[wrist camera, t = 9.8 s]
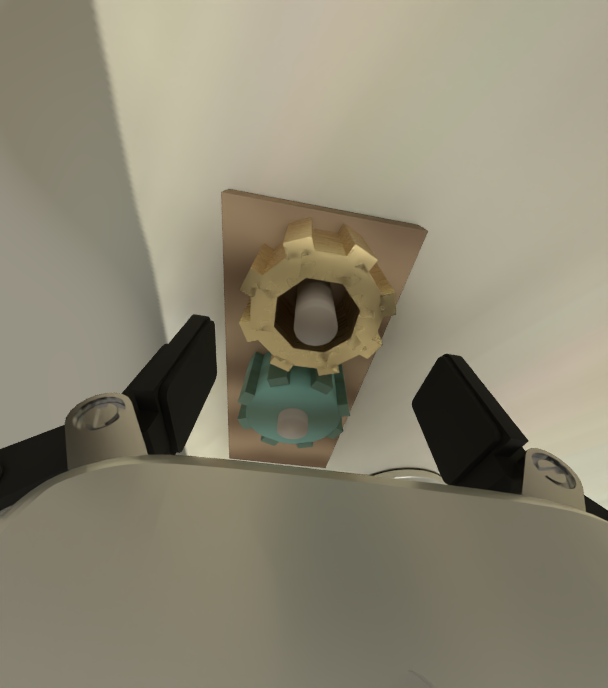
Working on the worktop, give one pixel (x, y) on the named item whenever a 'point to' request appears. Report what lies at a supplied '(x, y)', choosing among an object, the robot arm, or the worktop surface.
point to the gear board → (237, 263)
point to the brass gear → (327, 265)
